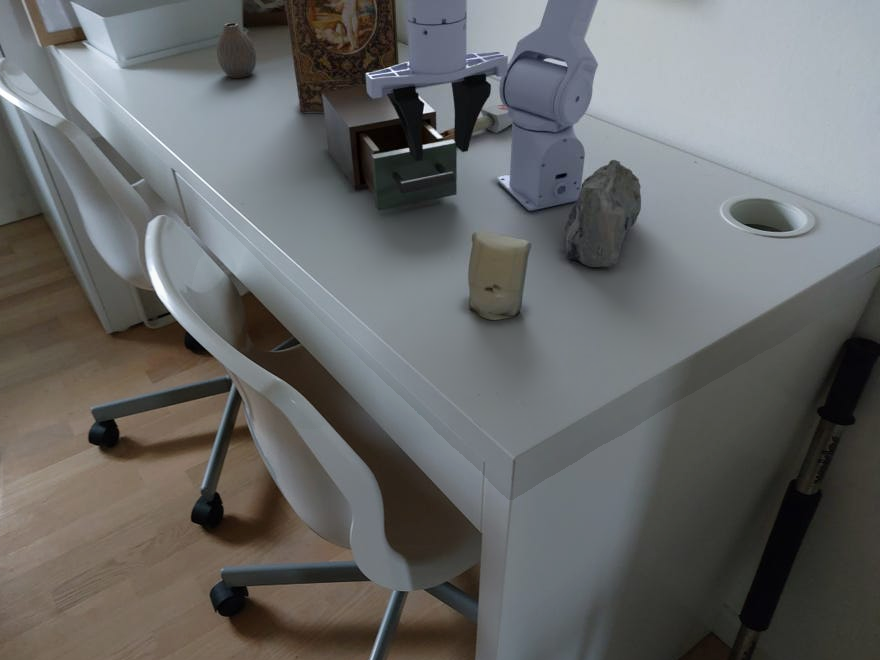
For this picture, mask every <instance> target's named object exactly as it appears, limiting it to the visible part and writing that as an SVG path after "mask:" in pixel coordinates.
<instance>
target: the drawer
mask: <svg viewBox="0 0 880 660" xmlns="http://www.w3.org/2000/svg"><path fill="white" fill-rule="evenodd" d="M355 133H356V142H357V153H358V164H359V174H360V176H361V177H362V178H363V180H364V181H365V183H366V184H367V185H368V187H369V188H368V189H370V192H371V193H372V194H373V197H374V207H375V209H376V210H377V212H380V211H386V210H390V209H395V208H399V207H404V206H409V205H414V204H418V203H423V202H428V201H434V200H437V199H443V198H447V197H451V196H457V194H458V193H457V191H458V190H457V189H458V186H457V184H458V183H457V180H458V178H457V176H458V175H457V174H458V173H457V167H458V166H457V159H458V158H457V155H458V153H457V152H458V151H457V149H458V147H457V146H456V145H455V141H454V140H453V139H452V140H447V141H443V137H442V136H441V135H440V133H439V132H438V131H437V129H436V130H435V129H434V128H433V127H432V126H431V125H430V124H428V123H427V122H426V121H425V120H422V145H423V158H422V160H420V161H415V160H414V158H413V157H412V156H411V155H410V151H409V146H408V142H407V139H406V135H405V132H404V129H403V127H402V124H398V125H392V126H387V127H381V128H376V129H371V130H365V131H360V132H355Z"/></svg>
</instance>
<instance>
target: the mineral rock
mask: <svg viewBox="0 0 880 660" xmlns="http://www.w3.org/2000/svg"><path fill="white" fill-rule="evenodd" d="M641 209H642V194H641V183H640V178H638V177H637V176H636V175H635V174H634V173H633V171H632V170H631V169H630V168H627V167H626V166H624V165H622V164H621V161H619V160H616V159H611V160H609V162H608V164H606V165H603V166H600V167H599V168H598V169H596V170H595V171H593V173H592V175H589V176H588V177H586V178H585V179H584V181H583V182H582V183H581V192H580V194H579V198H578V199H577V201H574V204H573V206H572V208H571V210H570V212H569V215H568V217H567V218H568V219H567V220H566V221H565V224H564V230H565V234H566V238H565V244H566V245H565V253H566V255H565V256H566V257H567V258H568V259H570V260H577V261H579V262H580V263H581V264H583V265H585V266H587V267H589V268H599V267H604V268H610V267H612V266H614V265H616V263H617V262H618V261H619V258H620V252H621V248H622V245H623V243H624V239H625V237H626V232H627V231H628V230H629V229H631V228H632V227H633V226H634V225H635V224H636V223H637V220H638V216H639V215H640V213H641Z"/></svg>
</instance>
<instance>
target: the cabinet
mask: <svg viewBox="0 0 880 660" xmlns="http://www.w3.org/2000/svg"><path fill="white" fill-rule="evenodd" d="M322 98H323V106H324V113H323V114H324V123H325V130H326V138H327V147H328V153H329V154H330V156H331V157H332V159H333V160H334V162H335V163H336V165H337V166H338V168H339V169H340V170H341V172H342V174H343V175H344V176H345V178H346V179H347V181H348V182H349V184H350V185H351V187H352V188H353V190H354V191H355V192H357V191H361V190H367V189H370V188H369V187H368V185H367V184H366V183H365V181H364V180H363V178H362V177H361V176H360V174H359V164H358V153H357V142H356V133H355V132H360V131H365V130H371V129H376V128H381V127H387V126H392V125H398V124H401V122H400V119H399V117H398V115H397V113H396V111H395V109H394V107H393V105H392V103H391V101H390V99H389V98H388V96H387V94H383V95H382V97H381V98H375V99H373V98H372V97H370V95H369V94H368V93H367V87H366V85H365V86H359V87H353V88H347V89H341V90H336V91H330V92H324V93H322ZM419 99H420V100H421V101H422V102H423V103H424V110H423V118H422V120H425V121H426V122H427V123H428V124H430V125H431V126H432V127H433V128H434V129H435V130H436V131H437V111H436V110H435V109H434V108H433V107H432V106H431V105H430V104H428V103H427V101H426V100H424V99H423V98H422V97H421V96H420V95H419Z"/></svg>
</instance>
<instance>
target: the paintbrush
mask: <svg viewBox="0 0 880 660" xmlns="http://www.w3.org/2000/svg"><path fill="white" fill-rule="evenodd" d="M480 113H481V115H482V116H480V117H478V118H477V121H476V123H475V126H474V129H473V133H472V135H473V134H475V133H478V132H481V131H483V130H488V131H490V132H493V133H494V134H497V133H499V132H501V131H502V130H504V129H506V128H508V127H509V126H511V125H512V123H513V119H512V118H510V117H508V108H507V107H506V106H504V104H499V105H492V106H485V107H483V108H482V110H481V112H480ZM439 134H440V135H441V136H442V137H443V141H447V140H452V139H453V140H454V141H455V138H454V127H451V128H449V129H446V130H444V131H442V132H440V133H439Z"/></svg>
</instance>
